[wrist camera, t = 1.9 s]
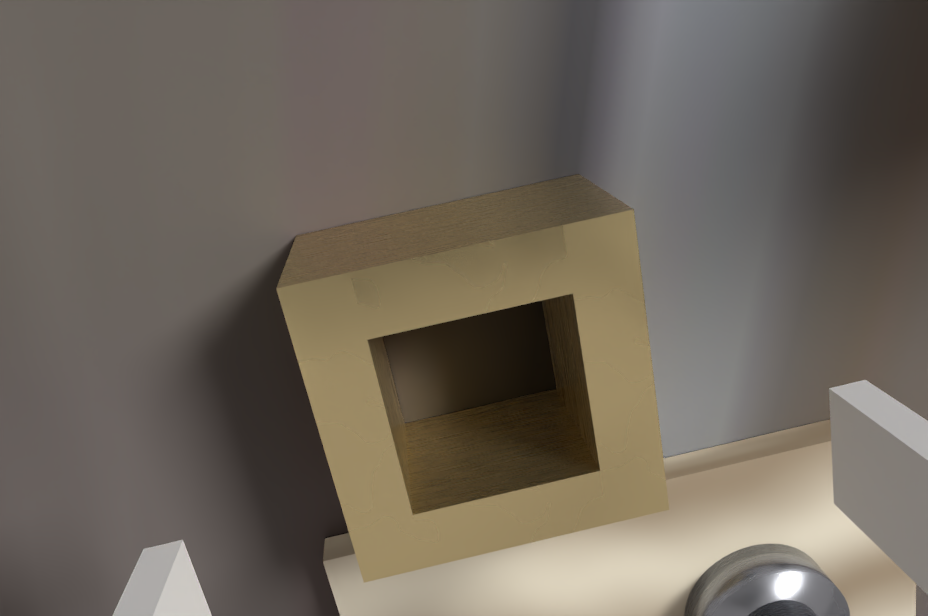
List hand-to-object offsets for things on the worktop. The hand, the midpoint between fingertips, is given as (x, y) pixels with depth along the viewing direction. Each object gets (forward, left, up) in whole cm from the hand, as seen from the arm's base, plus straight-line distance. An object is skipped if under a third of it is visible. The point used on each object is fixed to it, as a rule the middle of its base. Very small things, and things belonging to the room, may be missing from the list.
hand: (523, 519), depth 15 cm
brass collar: (0, 0, -9) cm, 9 cm away
